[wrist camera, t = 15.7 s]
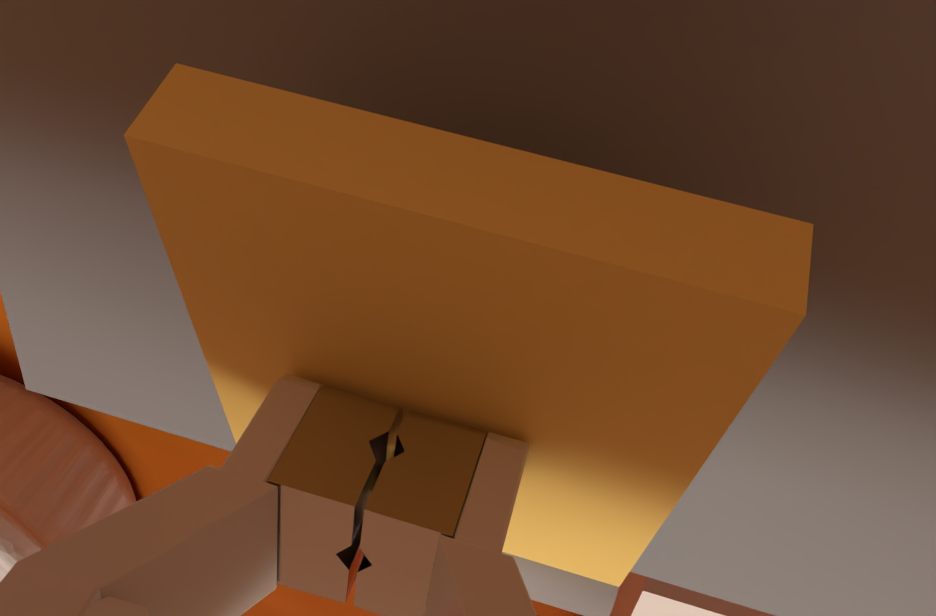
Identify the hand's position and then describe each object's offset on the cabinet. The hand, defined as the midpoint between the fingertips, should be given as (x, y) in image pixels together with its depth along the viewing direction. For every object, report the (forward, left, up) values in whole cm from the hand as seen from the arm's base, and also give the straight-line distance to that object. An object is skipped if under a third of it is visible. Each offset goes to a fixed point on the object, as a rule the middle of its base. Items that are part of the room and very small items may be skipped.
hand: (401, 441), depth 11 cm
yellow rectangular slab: (0, 0, -1) cm, 1 cm away
